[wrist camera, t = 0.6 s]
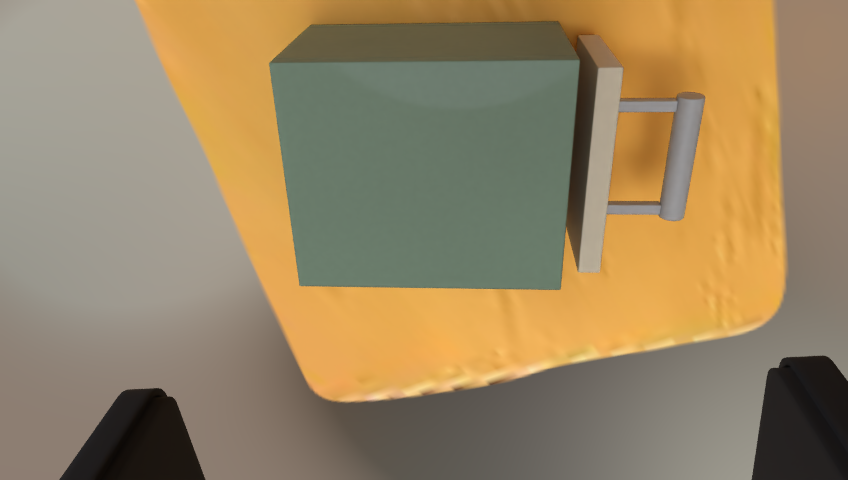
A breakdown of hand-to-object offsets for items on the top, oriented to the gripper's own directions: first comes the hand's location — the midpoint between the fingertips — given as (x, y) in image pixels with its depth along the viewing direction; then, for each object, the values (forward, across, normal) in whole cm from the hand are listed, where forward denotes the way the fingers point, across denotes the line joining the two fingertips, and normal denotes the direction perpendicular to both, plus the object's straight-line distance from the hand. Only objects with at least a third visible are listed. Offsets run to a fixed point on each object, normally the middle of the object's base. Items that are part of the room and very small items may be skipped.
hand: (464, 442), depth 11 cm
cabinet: (+33, +3, +5) cm, 33 cm away
